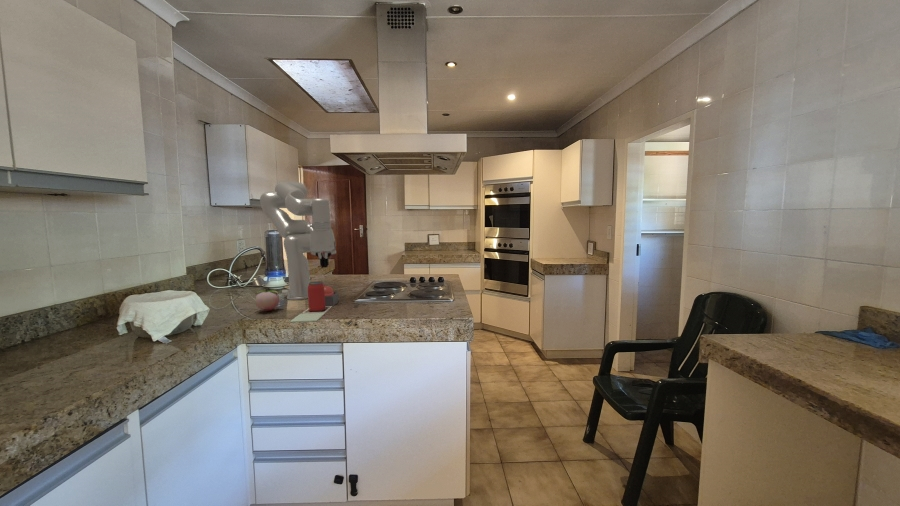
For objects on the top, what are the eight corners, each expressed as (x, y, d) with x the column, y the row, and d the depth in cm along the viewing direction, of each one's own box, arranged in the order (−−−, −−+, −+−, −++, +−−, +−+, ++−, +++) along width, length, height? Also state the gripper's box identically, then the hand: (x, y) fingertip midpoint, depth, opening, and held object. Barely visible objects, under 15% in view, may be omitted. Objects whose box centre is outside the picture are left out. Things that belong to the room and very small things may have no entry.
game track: (289, 322, 127) (288, 310, 126) (316, 302, 157) (316, 292, 156) (316, 321, 127) (315, 309, 127) (338, 301, 157) (337, 292, 157)
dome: (317, 301, 149) (316, 287, 149) (322, 297, 156) (321, 284, 155) (331, 300, 150) (330, 287, 149) (335, 297, 156) (334, 284, 155)
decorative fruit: (253, 315, 138) (251, 291, 136) (258, 310, 145) (256, 287, 144) (279, 312, 140) (277, 289, 139) (282, 307, 148) (280, 285, 147)
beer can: (328, 309, 143) (326, 282, 142) (313, 313, 138) (311, 284, 137) (321, 307, 148) (319, 280, 146) (306, 310, 143) (304, 283, 141)
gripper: (301, 227, 145) (304, 269, 147) (336, 226, 146) (339, 268, 148) (307, 226, 152) (310, 266, 154) (341, 225, 153) (343, 265, 155)
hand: (324, 267), depth 151 cm, fingers closed
